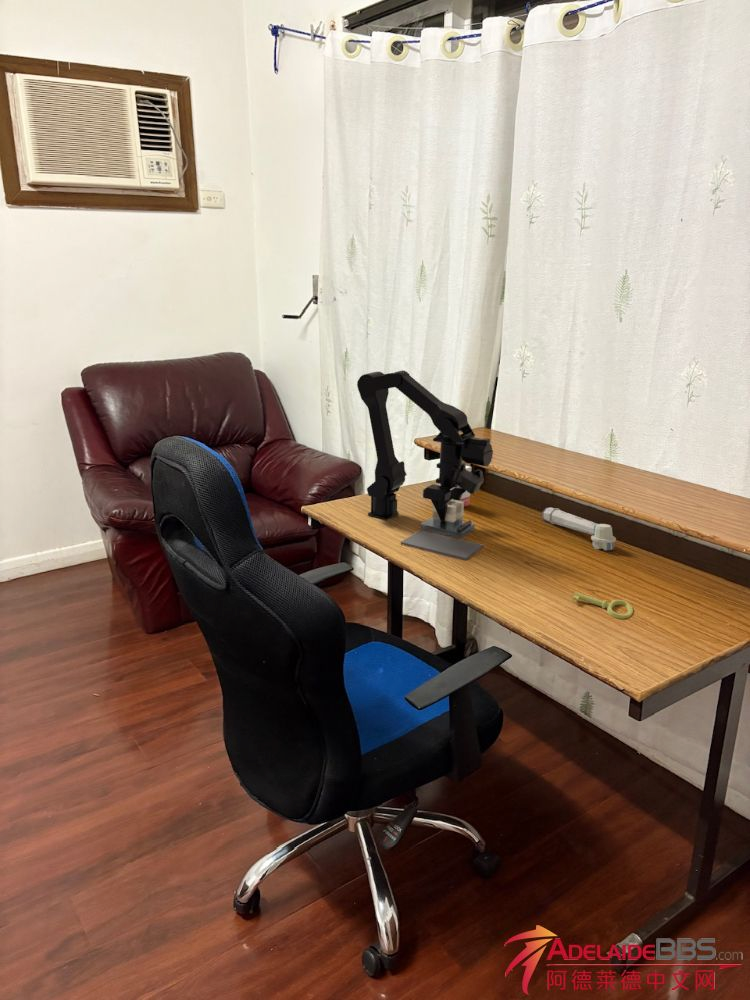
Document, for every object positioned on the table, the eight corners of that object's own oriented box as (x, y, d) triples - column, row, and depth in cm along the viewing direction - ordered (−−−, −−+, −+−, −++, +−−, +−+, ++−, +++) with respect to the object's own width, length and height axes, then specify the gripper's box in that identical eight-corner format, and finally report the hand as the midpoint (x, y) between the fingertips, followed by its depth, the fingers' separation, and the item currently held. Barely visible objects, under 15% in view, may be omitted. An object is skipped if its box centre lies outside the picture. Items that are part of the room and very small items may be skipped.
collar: (432, 517, 191) (433, 503, 190) (443, 511, 196) (443, 497, 195) (453, 522, 188) (454, 507, 187) (463, 515, 193) (464, 501, 192)
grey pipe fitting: (554, 505, 202) (620, 522, 180) (554, 528, 203) (620, 548, 181) (539, 507, 200) (604, 525, 178) (539, 531, 201) (604, 551, 179)
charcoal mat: (400, 544, 183) (400, 541, 182) (420, 532, 191) (420, 530, 190) (466, 560, 174) (466, 558, 173) (483, 547, 182) (483, 544, 182)
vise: (420, 529, 193) (421, 502, 190) (434, 520, 199) (435, 494, 197) (461, 538, 187) (462, 511, 184) (474, 529, 193) (476, 502, 191)
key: (570, 599, 156) (571, 590, 155) (630, 606, 153) (632, 597, 153) (572, 615, 149) (573, 605, 148) (635, 622, 147) (636, 613, 146)
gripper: (463, 473, 175) (460, 533, 180) (494, 456, 190) (490, 512, 195) (423, 466, 181) (420, 524, 186) (456, 450, 196) (453, 505, 201)
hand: (448, 516), depth 192 cm, fingers closed on collar, 6 cm apart
